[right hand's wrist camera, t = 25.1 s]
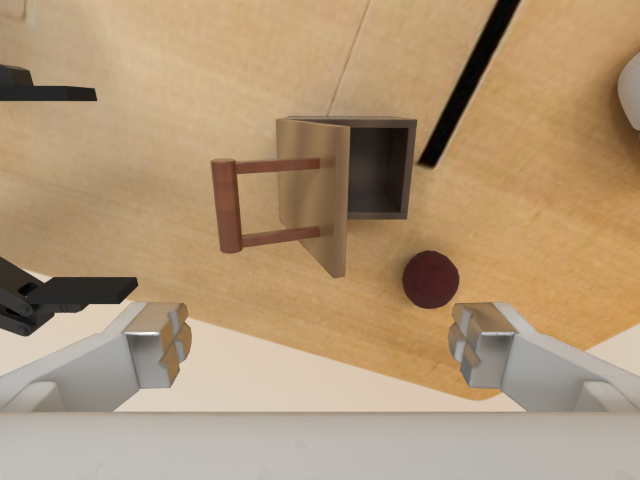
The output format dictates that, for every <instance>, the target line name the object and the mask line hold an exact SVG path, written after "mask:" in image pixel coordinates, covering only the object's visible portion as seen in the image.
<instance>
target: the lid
mask: <svg viewBox="0 0 640 480" xmlns="http://www.w3.org/2000/svg"><path fill="white" fill-rule="evenodd" d="M276 137H277V159H273V160H253V161H235V160H234V159H215V160H212V161H211V171H212V180H213V189H214V198H215V207H216V216H217V225H218V234H219V243H220V250H221V252H223V253H228V254H230V253H237V252H240V251H241V250H242V249H243V247H250V246H258V245H265V244H272V243H279V242H286V241H294V240H298V241H299V242H300V243H301V244H302V245H303V246H304V247H305V248H306V249H307V251H308V252H309V253H310V254H311V255H312V256H313V257H314V258H315V259H316V260H317V261H318V262H319V263H320V264H321V266H322V267H323V268H324V269H325V270H326V271H327V272H328V273H329V274H330V275H331V276H332V277H333V278H338V277H343V276H345V261H346V234H347V206H348V178H349V151H350V127H349V126H341V125H332V124H324V123H315V122H306V121H297V120H289V119H276ZM277 171H278V187H279V212H280V222H281V223H282V224H283V225H284V226H285V227H286V228H287V230H279V231H271V232H263V233H255V234H247V235H242V230H241V219H240V207H239V195H238V183H237V174H245V173H261V172H277Z"/></svg>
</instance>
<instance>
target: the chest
mask: <svg viewBox="0 0 640 480" xmlns="http://www.w3.org/2000/svg"><path fill="white" fill-rule="evenodd" d="M283 119H289V120H297V121H306V122H315V123H324V124H332V125H341V126H349V127H350V151H349V178H348V206H347V219H407V212H408V203H409V193H410V183H411V174H412V164H413V154H414V145H415V135H416V126H417V120H416V119H408V118H400V117H341V116H289V117H286V118H283Z"/></svg>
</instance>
